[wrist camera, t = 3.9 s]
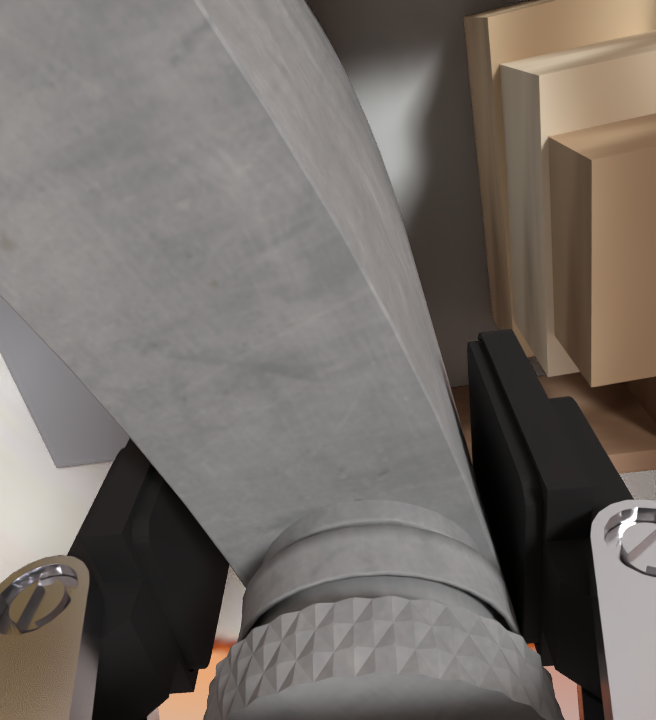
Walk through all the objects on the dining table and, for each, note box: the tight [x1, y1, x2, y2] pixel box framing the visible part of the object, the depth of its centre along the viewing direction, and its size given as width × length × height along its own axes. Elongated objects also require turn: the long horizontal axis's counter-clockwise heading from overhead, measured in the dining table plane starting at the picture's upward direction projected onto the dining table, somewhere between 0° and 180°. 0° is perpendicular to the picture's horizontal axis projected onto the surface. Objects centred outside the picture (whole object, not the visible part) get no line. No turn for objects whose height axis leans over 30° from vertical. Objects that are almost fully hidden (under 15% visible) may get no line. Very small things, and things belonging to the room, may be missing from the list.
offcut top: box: [548, 113, 656, 387], centre depth 16 cm, size 4×6×3 cm, turn 12°
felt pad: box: [0, 296, 130, 468], centre depth 26 cm, size 9×20×1 cm, turn 9°
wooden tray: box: [451, 372, 656, 474], centre depth 22 cm, size 18×21×6 cm
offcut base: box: [463, 0, 656, 358], centre depth 22 cm, size 5×12×4 cm, turn 13°
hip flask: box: [0, 0, 564, 720], centre depth 14 cm, size 16×4×20 cm, turn 21°
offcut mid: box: [500, 30, 656, 377], centre depth 19 cm, size 5×9×4 cm, turn 12°
